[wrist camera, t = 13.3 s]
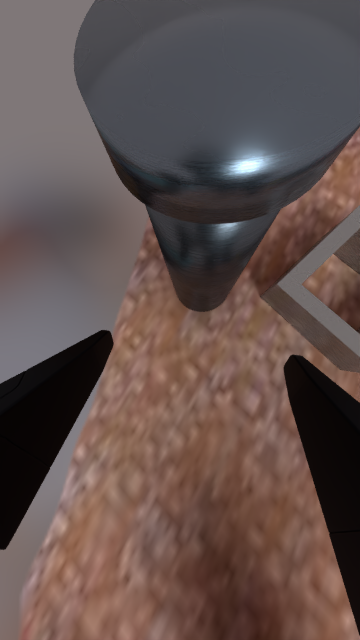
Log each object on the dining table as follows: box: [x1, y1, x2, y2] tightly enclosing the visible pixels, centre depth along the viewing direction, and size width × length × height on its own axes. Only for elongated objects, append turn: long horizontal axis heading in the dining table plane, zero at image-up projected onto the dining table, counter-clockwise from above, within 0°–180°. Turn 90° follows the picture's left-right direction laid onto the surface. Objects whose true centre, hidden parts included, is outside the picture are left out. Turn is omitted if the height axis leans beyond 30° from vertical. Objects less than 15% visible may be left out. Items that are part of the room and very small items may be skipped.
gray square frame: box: [260, 205, 360, 373], centre depth 15 cm, size 10×10×4 cm
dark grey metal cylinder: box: [74, 0, 360, 312], centre depth 11 cm, size 7×7×14 cm
